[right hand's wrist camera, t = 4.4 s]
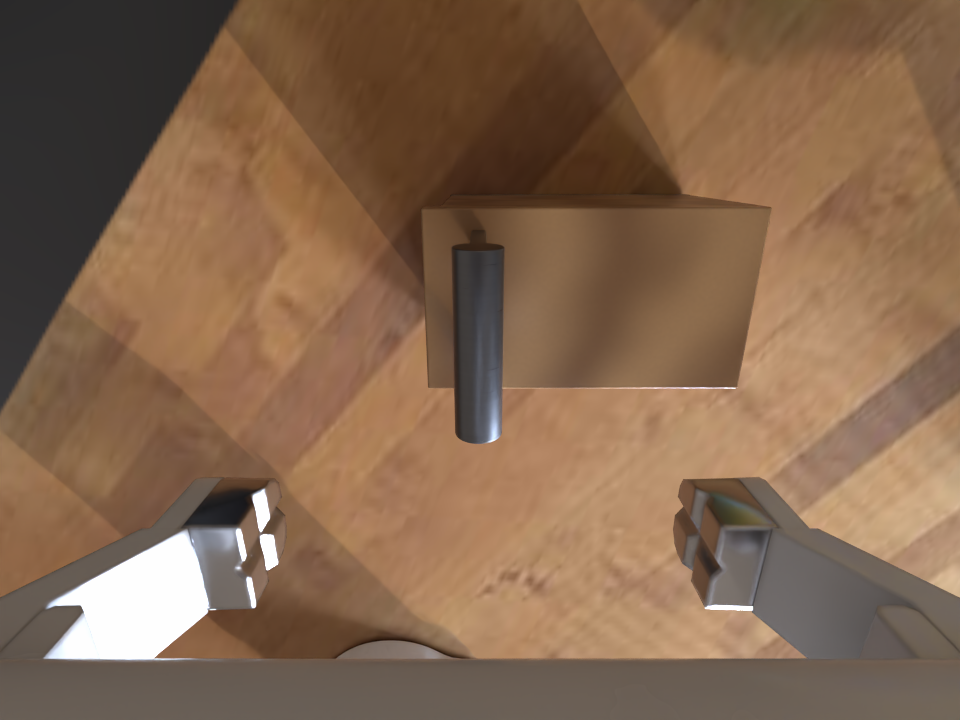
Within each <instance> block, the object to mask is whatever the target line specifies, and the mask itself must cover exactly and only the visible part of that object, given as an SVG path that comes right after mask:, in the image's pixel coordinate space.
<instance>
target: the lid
mask: <svg viewBox="0 0 960 720" xmlns="http://www.w3.org/2000/svg"><path fill="white" fill-rule="evenodd" d="M771 211H772V208H771V207H766V206H759V205H700V206H424V207H422V208H421V226H422V250H423V274H424V298H425V322H426V346H427V371H428V387H429V388H454V396H455V433H456V435H457V437H458V438H459V439H461V440H462V441H465V442H468V443H474V444H483V443H489V442H492V441H495V440H496V439H498V438H499V437H500V435H501V433H502V388H737V386H738V381H739V376H740V371H741V366H742V360H743V355H744V350H745V345H746V340H747V335H748V330H749V324H750V319H751V314H752V309H753V304H754V299H755V294H756V288H757V283H758V278H759V273H760V268H761V263H762V258H763V252H764V247H765V242H766V237H767V232H768V227H769V222H770V216H771Z"/></svg>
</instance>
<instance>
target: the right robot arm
mask: <svg viewBox="0 0 960 720" xmlns="http://www.w3.org/2000/svg"><path fill="white" fill-rule="evenodd" d="M281 498H282V494H281V490H280V485H279V482H278V481H277V480H276V479H273V478H223V477H204V478H199V479H195V480H194V482H193V483H192V484H191V485H190V486H189V487H188V488H187V489H186V490H185V491H184V492H183V493H182V495H181V496H180V497H179V498H178V499H177V500H176V501H175V502H174V503H173V504H172V505H171V507H170V508H169V509H168V510H167V511H166V512H165V513H164V514H163V515H162V516H161V517H160V519H159V520H158V521H157V522H156V523H155V524H154V525H153V526H152V527H151V528H150V529H140V530H138V531H136V532H134V533H132V534H130V535H128V536H126V537H124V538H122V539H120V540H118V541H116V542H113V543H111V544H109V545H107V546H105V547H103V548H101V549H99V550H97V551H95V552H93V553H91V554H89V555H87V556H85V557H83V558H81V559H79V560H77V561H74V562H72V563H70V564H68V565H66V566H64V567H62V568H60V569H58V570H56V571H54V572H52V573H50V574H48V575H46V576H44V577H42V578H40V579H37V580H35V581H33V582H31V583H29V584H27V585H25V586H23V587H21V588H19V589H17V590H15V591H13V592H11V593H9V594H7V595H5V596H3V597H1V598H0V720H960V598H959V597H957V596H955V595H953V594H951V593H949V592H947V591H945V590H943V589H941V588H939V587H937V586H935V585H932V584H930V583H928V582H926V581H924V580H922V579H920V578H918V577H916V576H914V575H912V574H910V573H908V572H906V571H904V570H902V569H900V568H898V567H896V566H894V565H891V564H889V563H887V562H885V561H883V560H881V559H879V558H877V557H875V556H873V555H871V554H869V553H867V552H865V551H863V550H861V549H859V548H857V547H855V546H853V545H851V544H848V543H846V542H844V541H842V540H840V539H838V538H836V537H834V536H832V535H830V534H828V533H826V532H824V531H822V530H820V529H810V528H809V527H808V526H807V525H806V524H805V523H804V522H803V521H802V520H801V519H800V517H799V516H798V515H797V514H796V513H795V512H794V511H793V510H792V509H791V508H790V507H789V505H788V504H787V503H786V502H785V501H784V500H783V499H782V498H781V497H780V496H779V495H778V493H777V492H776V491H775V490H774V489H773V488H772V487H771V486H770V485H769V484H768V483H767V481H766V480H764V479H762V478H760V477H746V478H724V479H683V481H682V483H681V485H680V489H679V494H678V498H679V499H680V501H681V503H682V504H683V506H684V507H683V508H682V509H681V510H680V511H679V512H678V513H677V514H676V515H675V519H674V527H673V533H674V543H675V547H676V550H677V554H678V556H679V558H680V560H681V562H682V564H684V565H685V566H687V567H688V568H689V569H691V570H692V571H693V573H692V579H691V582H692V584H693V586H694V587H695V589H696V591H697V593H698V595H699V597H700V599H701V601H702V603H703V605H704V607H705V609H735V610H752V613H754V614H755V615H756V616H757V617H758V618H760V619H761V620H762V621H763V622H764V623H766V624H767V625H768V626H769V627H770V628H772V629H773V630H774V631H775V632H776V633H778V634H779V635H780V636H781V637H783V638H784V639H785V640H786V641H787V642H789V643H790V644H791V645H792V646H793V647H795V648H796V649H797V650H798V651H799V652H801V653H802V654H803V655H804V656H805V657H807V658H808V659H460V658H452V657H449V656H446V655H444V654H442V653H440V652H438V651H436V650H434V649H431V648H429V647H426V646H423V645H420V644H416V643H412V642H406V641H395V640H387V641H376V642H370V643H366V644H362V645H359V646H356V647H354V648H352V649H350V650H348V651H346V652H344V653H343V654H341V655H340V656H339V657H337V658H336V659H152V658H153V657H155V656H156V655H157V654H158V653H160V652H161V651H162V650H163V649H164V648H166V647H167V646H168V645H169V644H170V643H172V642H173V641H174V640H175V639H176V638H178V637H179V636H180V635H181V634H182V633H184V632H185V631H186V630H187V629H189V628H190V627H191V626H192V625H193V624H195V623H196V622H197V621H198V620H199V619H201V618H202V617H203V616H204V615H205V614H207V613H208V610H224V609H255V607H256V605H257V603H258V601H259V599H260V597H261V595H262V593H263V591H264V589H265V587H266V586H267V584H268V582H269V579H268V573H267V571H268V570H269V569H271V568H272V567H273V566H275V565H276V564H278V562H279V560H280V558H281V556H282V554H283V551H284V546H285V542H286V531H287V525H286V519H285V515H284V514H283V513H282V512H281V511H280V510H279V509H278V508H277V507H276V506H277V504H278V503H279V501H280V499H281Z"/></svg>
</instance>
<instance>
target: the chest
mask: <svg viewBox="0 0 960 720" xmlns="http://www.w3.org/2000/svg"><path fill="white" fill-rule="evenodd" d="M700 205H753V204H746V203H739V202H732V201H726V200H719V199H712V198H705V197H698V196H691V195H686V194H540V195H451V196H450V197H449V198H448V199H447V201H446V202H445V203H444V204H443V205H442V206H700Z"/></svg>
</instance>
